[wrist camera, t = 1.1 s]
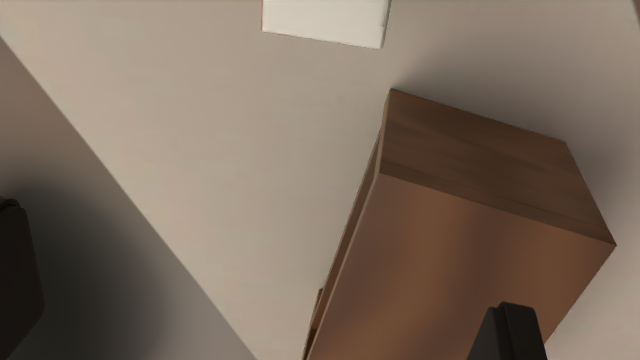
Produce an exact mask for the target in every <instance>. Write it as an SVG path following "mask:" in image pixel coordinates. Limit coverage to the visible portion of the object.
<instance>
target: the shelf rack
mask: <svg viewBox="0 0 640 360" xmlns="http://www.w3.org/2000/svg"><path fill="white" fill-rule="evenodd" d="M616 246H617V245H616V243H615V241H614V239H613V237H612V235H611V233H610V231H609V229H608V227H607V225H606V223H605V221H604V219H603V217H602V215H601V213H600V211H599V209H598V207H597V205H596V203H595V201H594V199H593V197H592V195H591V193H590V191H589V189H588V187H587V185H586V183H585V181H584V179H583V177H582V175H581V173H580V171H579V169H578V167H577V165H576V163H575V161H574V159H573V157H572V155H571V153H570V151H569V149H568V147H567V145H566V143H565V142H563V141H560V140H556V139H553V138H550V137H547V136H543V135H540V134H537V133H534V132H530V131H527V130H524V129H521V128H517V127H514V126H511V125H508V124H504V123H501V122H498V121H495V120H491V119H488V118H485V117H482V116H478V115H475V114H472V113H468V112H465V111H462V110H459V109H455V108H452V107H449V106H446V105H442V104H439V103H436V102H433V101H429V100H426V99H423V98H420V97H416V96H413V95H410V94H407V93H403V92H400V91H397V90H393V89H390V90H389V93H388V96H387V99H386V102H385V106H384V113H383V119H382V126H381V129H380V132H379V134H378V137H377V140H376V143H375V146H374V148H373V151H372V154H371V157H370V160H369V162H368V165H367V168H366V171H365V174H364V176H363V179H362V182H361V185H360V188H359V190H358V193H357V196H356V199H355V202H354V204H353V207H352V210H351V213H350V215H349V218H348V221H347V224H346V227H345V229H344V232H343V235H342V238H341V241H340V243H339V246H338V249H337V252H336V255H335V257H334V260H333V263H332V266H331V269H330V271H329V274H328V277H327V280H326V283H325V285H324V288H323V290H322V289H319V292H318V295H317V298H316V301H315V306H314V310H313V314H312V318H311V322H310V327H309V331H308V335H307V339H306V343H305V348H304V352H303V356H302V360H466V359H467V357H468V355H469V352H470V350H471V347H472V345H473V343H474V340H475V338H476V335H477V333H478V331H479V328H480V326H481V323H482V321H483V319H484V316H485V314H486V311H487V310H488V308H489V307H496V308H497V307H498V305H499V303H501V302H502V301H505V302H509V303H514V304H519V305H524V306H529V307H532V308H533V309H534V310H535V312H536V316H537V320H538V324H539V328H540V332H541V336H542V340H543V344H545V343H546V341H547V340H548V339H549V337H550V336H551V334H552V333H553V332H554V330H555V329H556V328H557V326H558V325H559V324H560V322H561V321H562V320H563V318H564V317H565V315H566V314H567V313H568V311H569V310H570V309H571V307H572V306H573V305H574V303H575V302H576V300H577V299H578V298H579V296H580V295H581V294H582V292H583V291H584V290H585V288H586V287H587V286H588V284H589V283H590V281H591V280H592V279H593V277H594V276H595V275H596V273H597V272H598V271H599V269H600V268H601V266H602V265H603V264H604V262H605V261H606V260H607V258H608V257H609V256H610V254H611V253H612V252H613V250H614V249H615V247H616Z"/></svg>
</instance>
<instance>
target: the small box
mask: <svg viewBox="0 0 640 360" xmlns="http://www.w3.org/2000/svg"><path fill="white" fill-rule="evenodd" d="M391 1H392V0H262V20H261V30H262V31H263V32H269V33H275V34H281V35H287V36H294V37H300V38H307V39H313V40H320V41H326V42H332V43H339V44H345V45H352V46H359V47H365V48H372V49H382V48H383V45H384V40H385V34H386V29H387V23H388V18H389V12H390V6H391Z"/></svg>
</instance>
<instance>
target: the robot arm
mask: <svg viewBox="0 0 640 360" xmlns="http://www.w3.org/2000/svg"><path fill="white" fill-rule="evenodd" d="M44 306H45V302H44V297H43V292H42V286H41V282H40V277H39V272H38V267H37V262H36V257H35V252H34V248H33V242H32V238H31V233H30V228H29V223H28V218H27V214H26V211H25V210H24V209H23V208H21V207H20V204H19V202H17V200H15V199H12V198H7V197H2V196H0V360H7V358H8V357H9V356H10V355H11V354H12V352H13V351H14V350H15V349H16V348H17V346H18V345H19V344H20V343H21V341H22V340H23V339H24V338H25V337H26V335H27V334H28V333H29V332H30V330H31V329H32V328H33V327H34V326H35V324H36V323H37V322H38V321H39V319H40V318H41V316H42V314H43V311H44ZM466 360H547V356H546V352H545V348H544V344H543V340H542V336H541V332H540V328H539V324H538V320H537V316H536V312H535V310H534V309H533V308H532V307H529V306H524V305H519V304H514V303H509V302H505V301H502V302H501V303H499V305H498V307H497V308H496V307H489V308H488V310H487V311H486V314H485V316H484V319H483V321H482V323H481V326H480V328H479V331H478V333H477V335H476V338H475V340H474V343H473V345H472V347H471V350H470V352H469V355H468V357H467V359H466Z"/></svg>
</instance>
